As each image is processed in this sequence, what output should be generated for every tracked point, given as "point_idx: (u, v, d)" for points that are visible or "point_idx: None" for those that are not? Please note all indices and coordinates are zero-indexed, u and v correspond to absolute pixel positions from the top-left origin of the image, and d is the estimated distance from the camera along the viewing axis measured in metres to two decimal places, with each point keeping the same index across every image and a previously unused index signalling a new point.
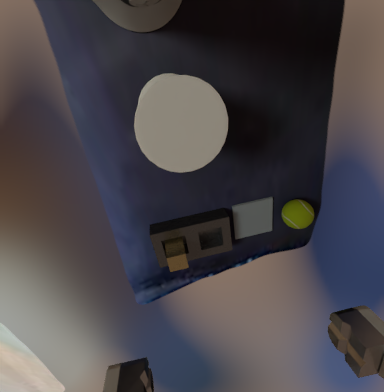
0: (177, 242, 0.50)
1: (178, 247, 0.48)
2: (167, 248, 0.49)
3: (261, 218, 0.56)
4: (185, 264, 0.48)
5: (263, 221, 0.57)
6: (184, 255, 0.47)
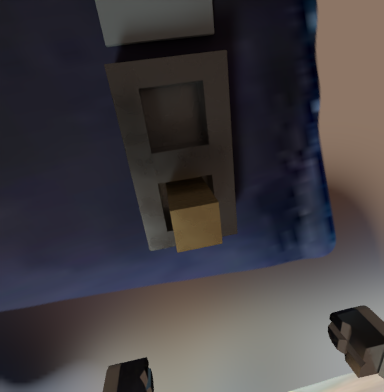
0: None
1: None
2: None
3: None
4: (206, 210, 0.18)
5: None
6: (174, 213, 0.18)
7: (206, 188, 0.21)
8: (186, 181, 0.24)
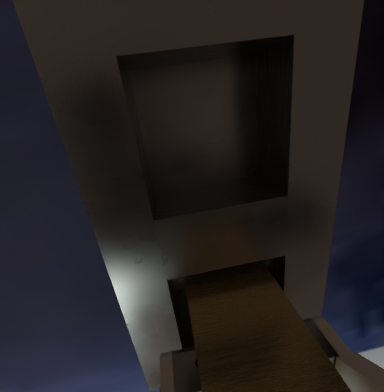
0: None
1: None
2: None
3: None
4: None
5: None
6: None
7: (281, 299, 0.09)
8: None
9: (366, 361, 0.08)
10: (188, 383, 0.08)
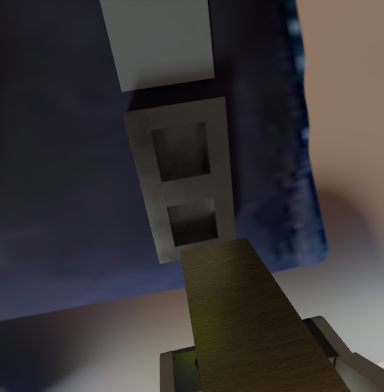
0: None
1: None
2: None
3: (158, 2, 0.21)
4: None
5: None
6: None
7: (281, 300, 0.09)
8: (224, 260, 0.12)
9: (366, 361, 0.08)
10: (188, 383, 0.08)
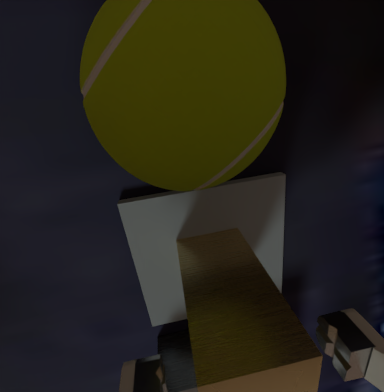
0: None
1: None
2: None
3: None
4: (289, 374, 0.07)
5: (231, 219, 0.14)
6: (210, 389, 0.07)
7: (265, 279, 0.10)
8: (216, 247, 0.13)
9: None
10: None
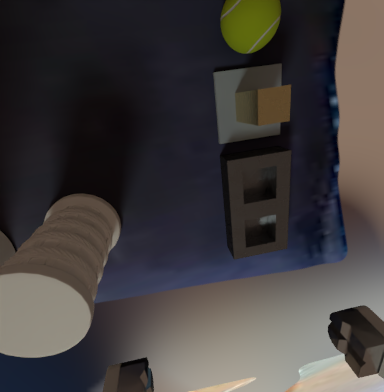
0: (244, 101, 0.30)
1: (249, 101, 0.28)
2: (248, 120, 0.30)
3: (250, 90, 0.33)
4: (281, 90, 0.26)
5: (258, 84, 0.33)
6: (260, 91, 0.26)
7: None
8: None
9: None
10: None
